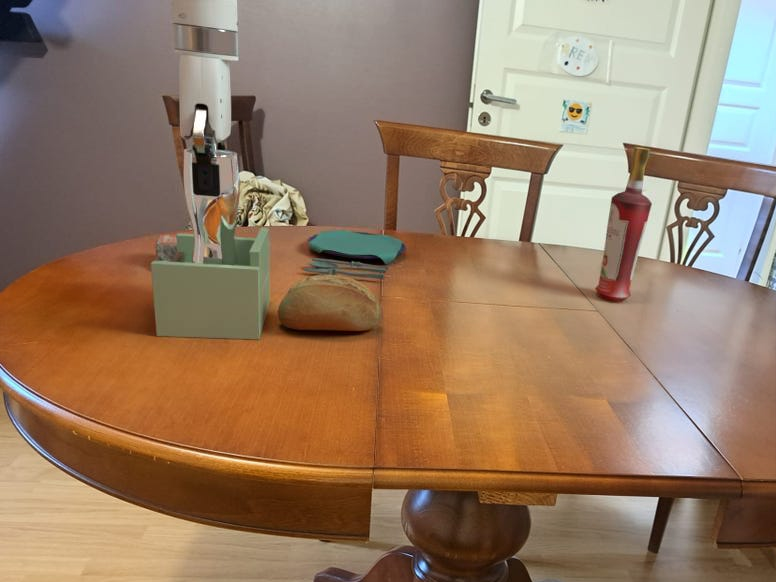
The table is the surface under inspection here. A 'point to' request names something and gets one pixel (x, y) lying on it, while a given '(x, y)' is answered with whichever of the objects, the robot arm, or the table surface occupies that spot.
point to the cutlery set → (353, 251)
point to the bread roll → (330, 305)
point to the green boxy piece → (213, 292)
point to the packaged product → (166, 247)
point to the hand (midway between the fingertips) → (212, 188)
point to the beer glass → (214, 212)
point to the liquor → (624, 233)
